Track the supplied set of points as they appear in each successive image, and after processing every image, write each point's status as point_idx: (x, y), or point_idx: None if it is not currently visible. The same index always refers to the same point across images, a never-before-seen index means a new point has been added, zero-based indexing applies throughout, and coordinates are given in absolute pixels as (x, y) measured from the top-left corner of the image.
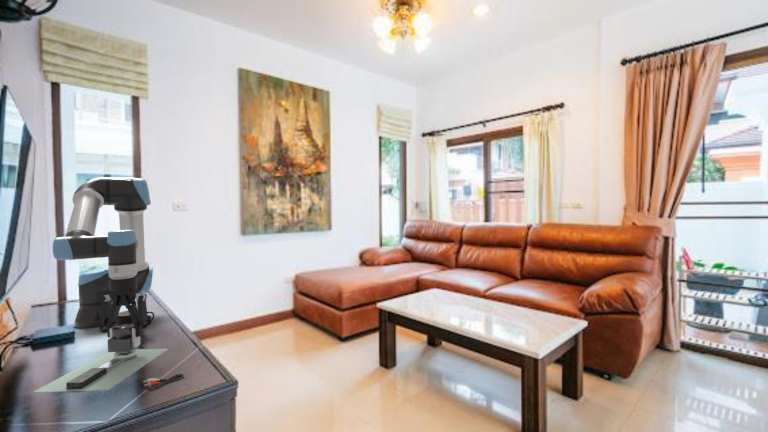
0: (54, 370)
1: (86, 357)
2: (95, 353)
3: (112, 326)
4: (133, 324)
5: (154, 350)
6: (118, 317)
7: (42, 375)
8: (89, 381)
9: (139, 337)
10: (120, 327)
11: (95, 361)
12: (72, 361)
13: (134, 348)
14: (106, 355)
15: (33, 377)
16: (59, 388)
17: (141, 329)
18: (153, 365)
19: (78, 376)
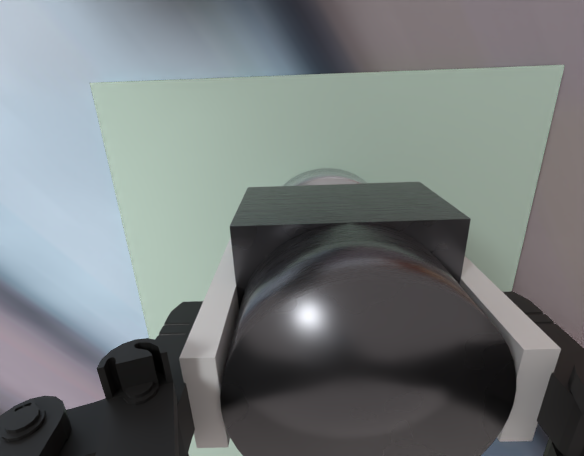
0: (40, 344)
1: (27, 190)
2: (15, 122)
3: (187, 422)
4: (438, 317)
5: (459, 102)
6: None
7: (45, 385)
8: None
9: (467, 267)
10: (322, 425)
11: (169, 271)
12: (5, 246)
13: (354, 183)
14: (154, 185)
15: (27, 399)
16: None
17: (568, 346)
18: (542, 305)
19: None
